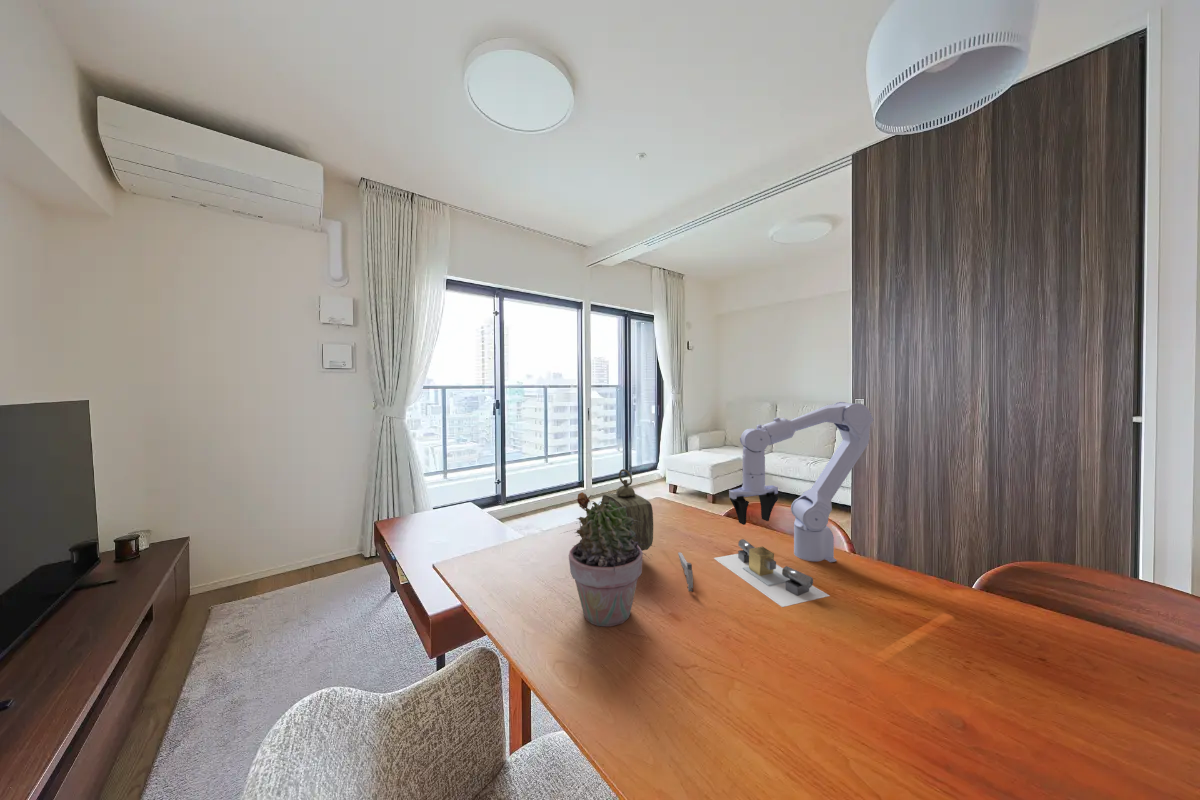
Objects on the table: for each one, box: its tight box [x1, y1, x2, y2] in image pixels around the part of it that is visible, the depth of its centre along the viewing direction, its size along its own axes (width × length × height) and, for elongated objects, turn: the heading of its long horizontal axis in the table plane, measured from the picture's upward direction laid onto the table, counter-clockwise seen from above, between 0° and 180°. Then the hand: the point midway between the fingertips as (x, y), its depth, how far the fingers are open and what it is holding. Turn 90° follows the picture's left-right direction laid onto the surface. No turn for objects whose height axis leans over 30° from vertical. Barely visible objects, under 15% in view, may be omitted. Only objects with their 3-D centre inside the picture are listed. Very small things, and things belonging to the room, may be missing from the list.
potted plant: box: [559, 491, 657, 628], centre depth 83 cm, size 18×20×25 cm
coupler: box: [748, 546, 777, 576], centre depth 99 cm, size 4×8×5 cm, turn 18°
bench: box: [713, 553, 831, 608], centre depth 97 cm, size 13×25×1 cm, turn 18°
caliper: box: [677, 552, 694, 592], centre depth 102 cm, size 20×1×6 cm, turn 176°
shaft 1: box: [737, 538, 756, 563], centre depth 106 cm, size 6×4×4 cm, turn 8°
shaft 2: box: [782, 565, 814, 596], centre depth 90 cm, size 6×4×4 cm, turn 28°
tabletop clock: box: [601, 468, 654, 552], centre depth 109 cm, size 14×9×25 cm, turn 25°
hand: (753, 521), depth 109 cm, fingers open, 7 cm apart
